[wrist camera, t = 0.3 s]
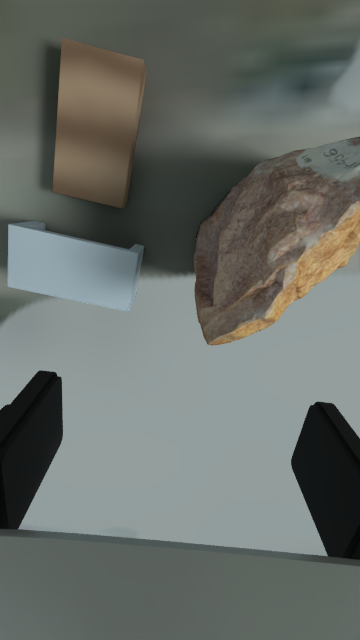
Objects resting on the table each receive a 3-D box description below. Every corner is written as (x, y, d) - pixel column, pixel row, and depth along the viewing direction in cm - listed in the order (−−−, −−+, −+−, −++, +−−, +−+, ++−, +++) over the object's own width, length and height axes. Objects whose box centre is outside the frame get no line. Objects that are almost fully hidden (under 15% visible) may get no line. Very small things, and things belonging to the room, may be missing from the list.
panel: (72, 52, 32) (61, 37, 29) (147, 72, 32) (143, 60, 29) (62, 192, 37) (52, 191, 34) (126, 207, 37) (122, 208, 35)
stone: (270, 135, 34) (378, 54, 15) (330, 201, 36) (485, 202, 18) (165, 259, 39) (149, 312, 20) (223, 310, 42) (257, 398, 23)
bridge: (34, 220, 38) (8, 224, 32) (144, 245, 39) (138, 253, 33) (31, 274, 40) (7, 286, 34) (135, 296, 41) (128, 311, 35)
